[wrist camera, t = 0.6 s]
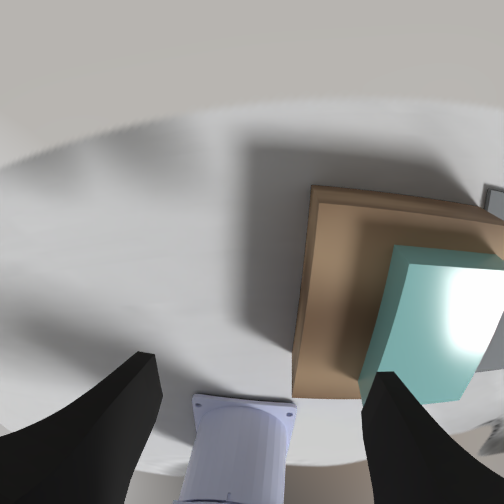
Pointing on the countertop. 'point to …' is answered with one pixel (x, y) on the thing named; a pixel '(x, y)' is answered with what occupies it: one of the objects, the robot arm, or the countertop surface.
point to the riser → (365, 274)
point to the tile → (435, 320)
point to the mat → (500, 347)
